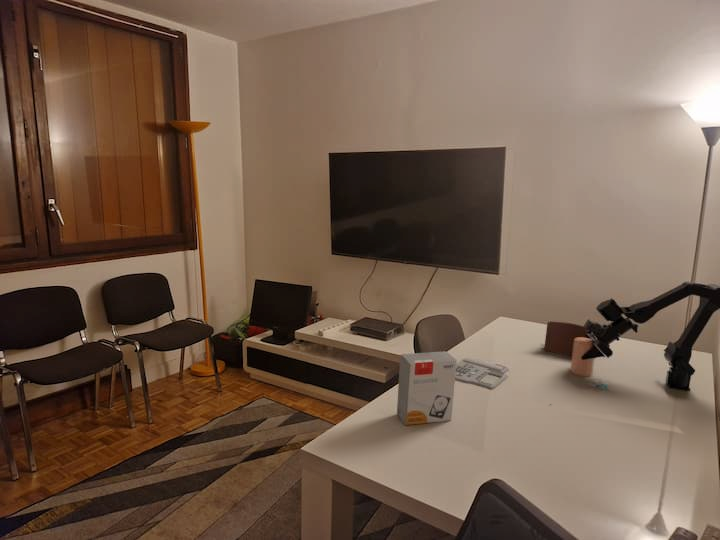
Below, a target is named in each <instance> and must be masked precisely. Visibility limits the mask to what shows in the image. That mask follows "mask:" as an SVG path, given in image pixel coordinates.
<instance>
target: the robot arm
mask: <svg viewBox="0 0 720 540" xmlns="http://www.w3.org/2000/svg"><path fill="white" fill-rule="evenodd" d="M690 296H697V297H699V304H698V307H697V308H696V310H695V312H694V313H693V315H692V317H691V318H690V320H689V322H688V323H687V324H686V327H685V328H684V330H683V332H682V333H681V334H680V337H679V339H677V340H676V341H675V342H672V341H669V342H668V344H667V346H666V347H665V349H663V351H664V353H663V357H664V359H665V360H666V361H667V363H668V366H669V370H667V371H666V377H665V382H666V384H667V386H668V387H669V388H671V389H678V390H684V391H689V392H690V391H691V388H690V383H691V380H692V379H691V378H692V376H694V373H696V369H695V368H694V367H693V366H692V365H691V364H690V362H691V359H692V352H693V347H694V345H695V343H696V342H697V340H698V338H700V336H701V334H702V333H703V331H704V329H705V328H706V326H707V324H708V322H709V321H710V320H711V318H712V316H713V314H714V313H716V311H718V310H720V285H718V284H715V283H709V284H702V283H697V282H695V283H694V282H691V281H684V282H683V283H682V284H679V285H678V286H676V287H674V288H672V289H670V290H667V291H666V292H664V293H662V294H660V295H658V296H656V297H654V298H652V299H650V300H649V299H648V300H645V301H640V302H636V303H634V304H631V305H630V306H619V304H618V303H617V302H616V301H615V299H614V298H610V299H607V300H604V301H602V302H600V303H599V304H598V305H597V306H596V309H595V310H596V311H597V312H598V313H599V315H601V317H603V318H604V320H606V321H607V322H610V323H608V324H606V323H603V325H602V324H601V323H599V322H596V321H594V320H592V319H589V318H588V319H587V320H586V322H585V323H584V324H583V326H584V327H585V328H586V332H587V333H588V334H587V333H585V338H589V339H592V340H594V341H595V344H596V345H595V344H594V343H593V342H592V347H591V348H590V349H589V350H588V351H587V352H586V353H585V354H584V355H583V356H582V357H581V359H582V360H585V359H591V358H595V359H596V358H607V359H609V358H610V357H612V356H613V353H614V351H613V350H612V349H611V348H610V347H611V344H612V343H614V342H615V341H617V342H618V341H620V340H621V339H620V338H621V336H623V335H624V334H627V332H629V331H631V330H632V331H633V332H634V333H636V334H637V333H638V328H639V324H645V323H646V322H648V321H649V320H651V319H653V318H654V317H655V315H657V313H658V312H660V311H661V310H663V309H664V310H665V308H668V307H670V306H672V305H673V304H676V303H677V302H678V303H679V302H680V301H681V300H683V299H686V298H688V297H690ZM623 315H624V316H623ZM633 322H635V323H633Z"/></svg>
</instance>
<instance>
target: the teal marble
mask: <svg viewBox="0 0 720 540" xmlns="http://www.w3.org/2000/svg"><path fill="white" fill-rule="evenodd" d="M597 388H598V389H601V390H609V386H608V385H607V384H606V383H605V382H601V383H599V384H598V387H597Z"/></svg>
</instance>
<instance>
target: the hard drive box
mask: <svg viewBox="0 0 720 540" xmlns="http://www.w3.org/2000/svg"><path fill="white" fill-rule="evenodd" d="M457 363H458V361H457V359H456V358H455V357H454V356H453V355H452V354H450V353H449V352H447V351H431V352H430V351H429V352H416V353H403V354H402V353H401V354H400V357H399V371H398V372H399V373H398V375H399V376H398V389H397V390H398V391H397V404H396V405H397V406H396V415H397V416H398V417H399V419H400V420H401V422H402V424H404V426H409V425H410V426H411V425H414V424H417V425H421V424H427V423H443V422H449V421H452V415H453V406H454V396H455V395H454V393H455V383H456V382H455V381H456V380H455V373H456V364H457Z"/></svg>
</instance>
